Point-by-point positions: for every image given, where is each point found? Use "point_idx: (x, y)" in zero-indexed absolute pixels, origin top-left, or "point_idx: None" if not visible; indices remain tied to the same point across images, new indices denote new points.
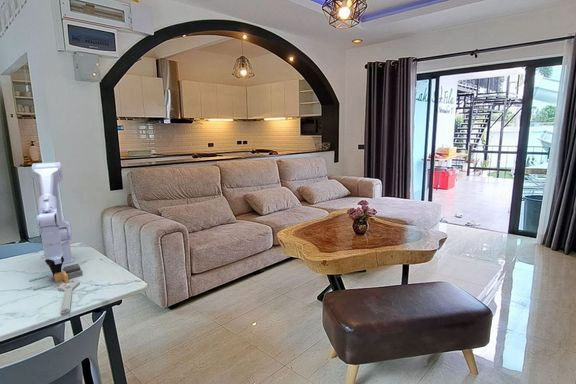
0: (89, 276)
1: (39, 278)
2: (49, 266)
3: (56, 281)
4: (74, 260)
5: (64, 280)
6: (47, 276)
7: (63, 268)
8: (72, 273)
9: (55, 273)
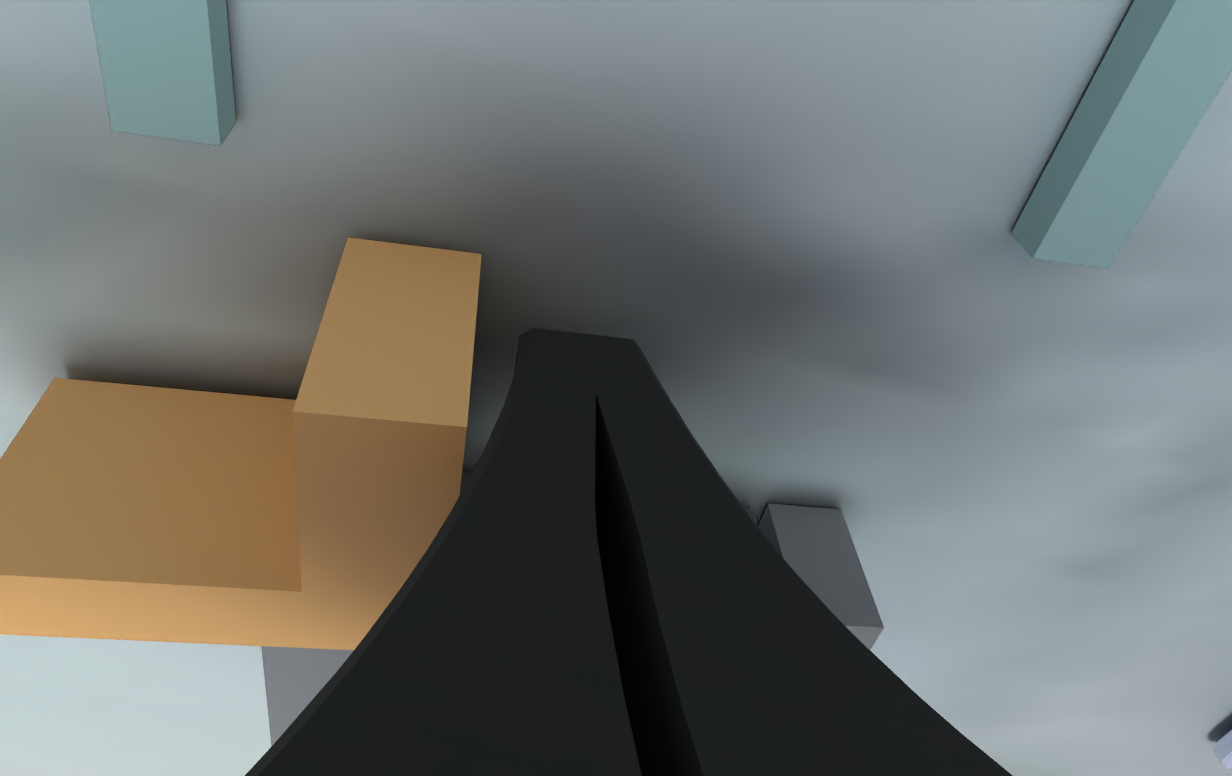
0: (168, 715)
1: (1161, 3)
2: (543, 677)
3: (344, 264)
4: (1220, 761)
5: (172, 415)
6: (1035, 230)
7: (863, 637)
8: (266, 668)
9: (434, 463)
